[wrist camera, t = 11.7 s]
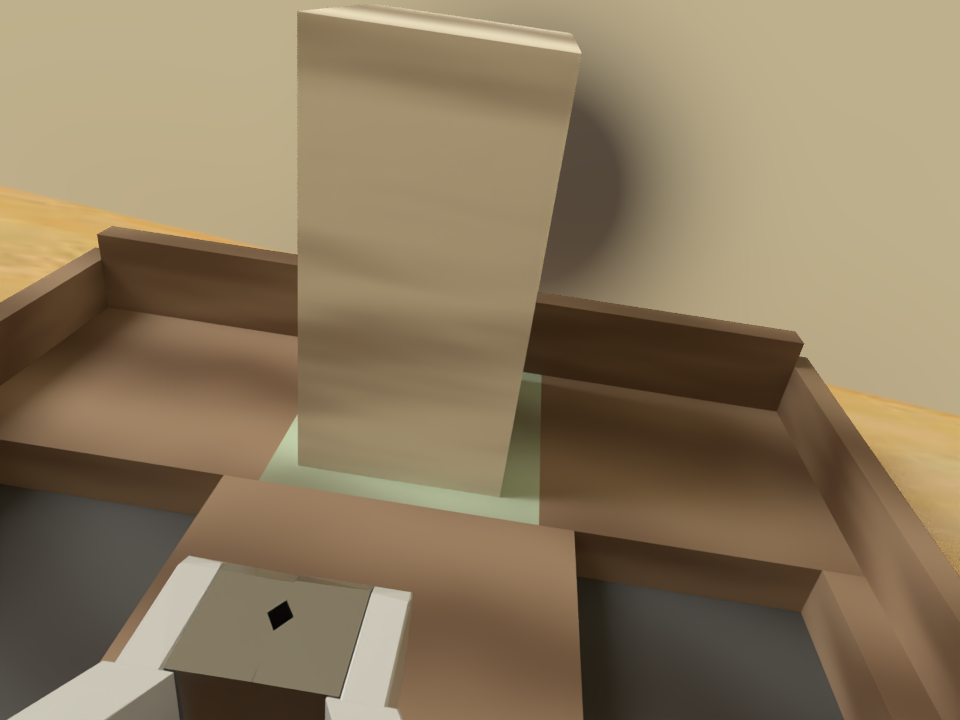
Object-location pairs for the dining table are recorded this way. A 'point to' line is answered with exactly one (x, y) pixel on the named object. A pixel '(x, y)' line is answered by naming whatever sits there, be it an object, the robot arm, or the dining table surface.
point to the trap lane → (468, 506)
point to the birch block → (421, 235)
